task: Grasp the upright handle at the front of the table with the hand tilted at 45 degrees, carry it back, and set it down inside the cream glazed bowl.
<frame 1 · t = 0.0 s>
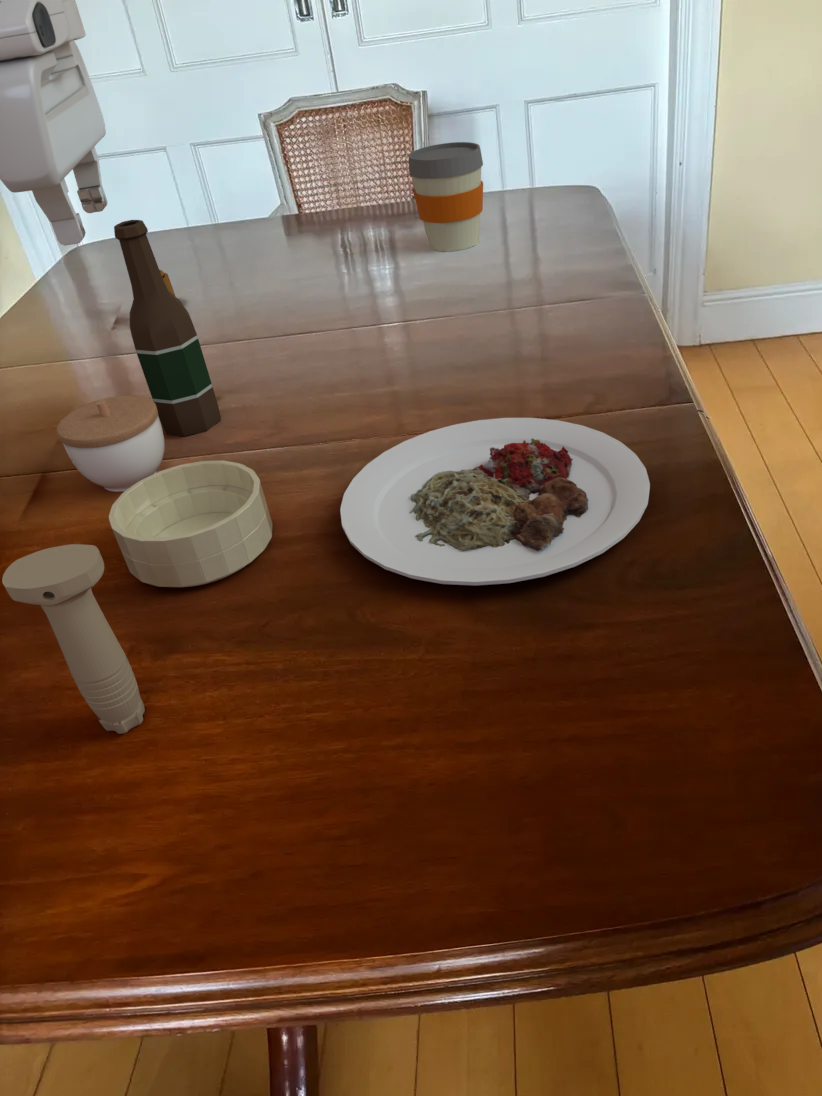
hand: (86, 225, 71), 30 cm above the table, tool pointing down, fingers open, 8 cm apart
ornamental finial: (163, 319, 145), on the table
trinket box: (130, 479, 102), on the table
reusable coffee cup: (454, 244, 158), on the table
plated food: (494, 507, 88), on the table
beer bottle: (193, 424, 112), on the table
handle: (126, 722, 70), on the table
bowl: (203, 549, 88), on the table
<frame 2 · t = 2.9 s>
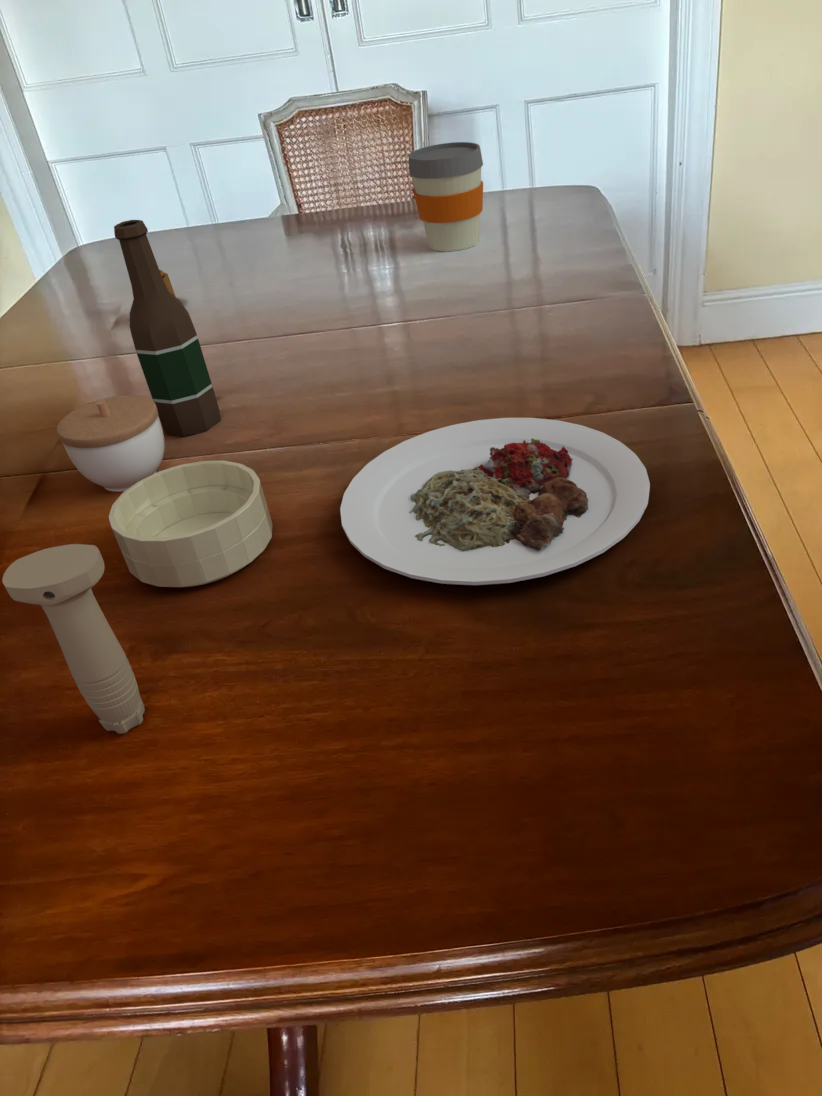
nothing on the table moved.
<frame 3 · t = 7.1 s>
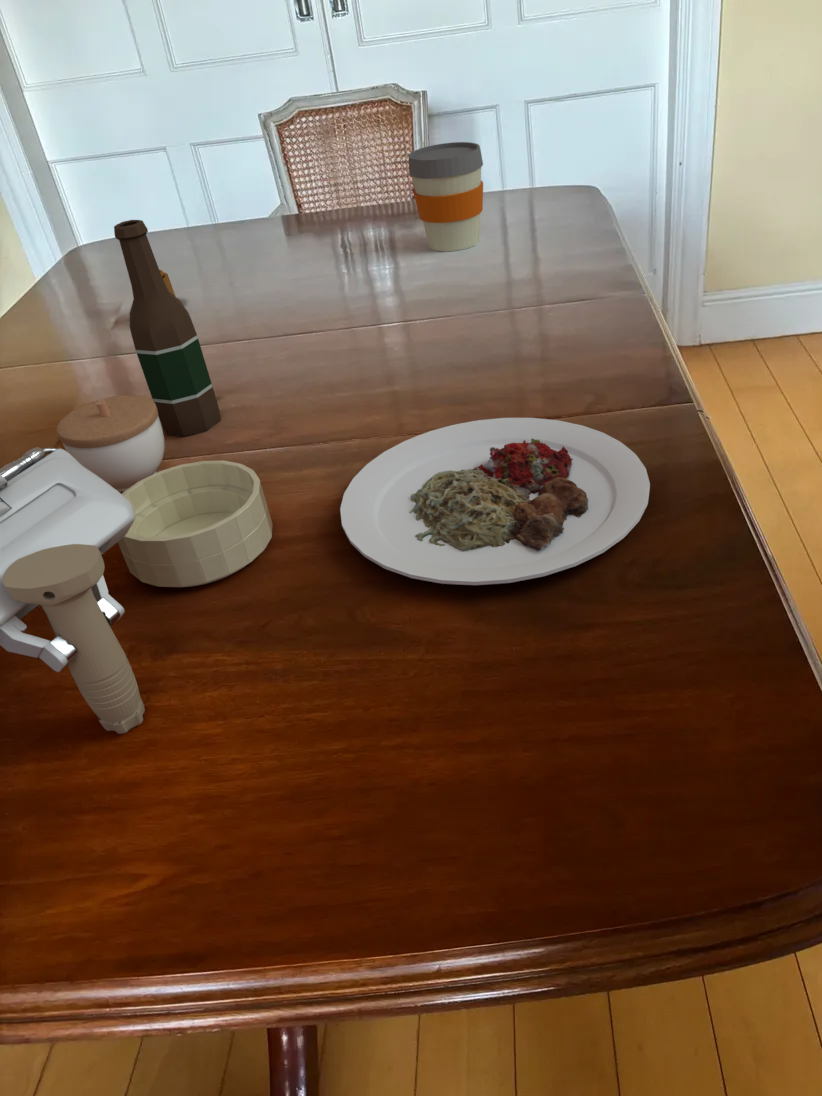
hand: (92, 641, 64), 8 cm above the table, tool tilted 45°, fingers closed on handle, 3 cm apart
handle: (126, 722, 70), on the table, touching gripper
everything else where it was.
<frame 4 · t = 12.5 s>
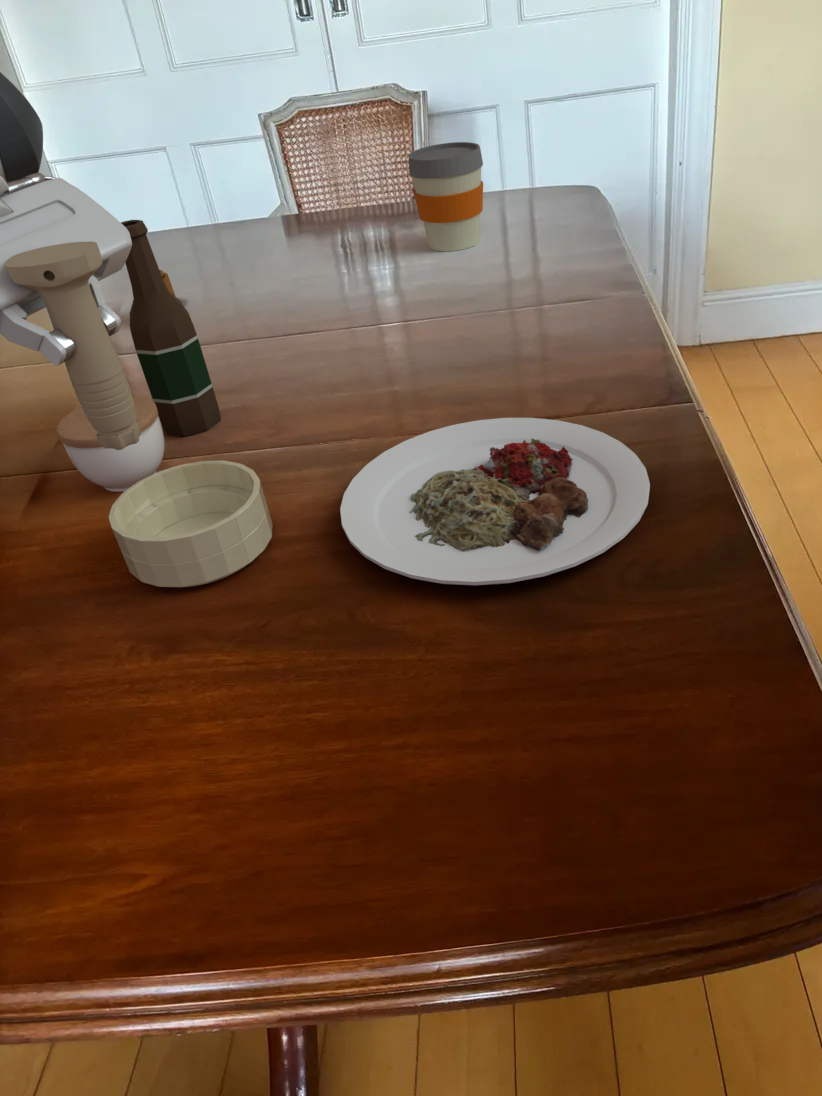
hand: (90, 344, 67), 24 cm above the table, tool tilted 45°, fingers closed on handle, 3 cm apart
handle: (123, 444, 73), point 16 cm above the table, touching gripper
everything else where it was.
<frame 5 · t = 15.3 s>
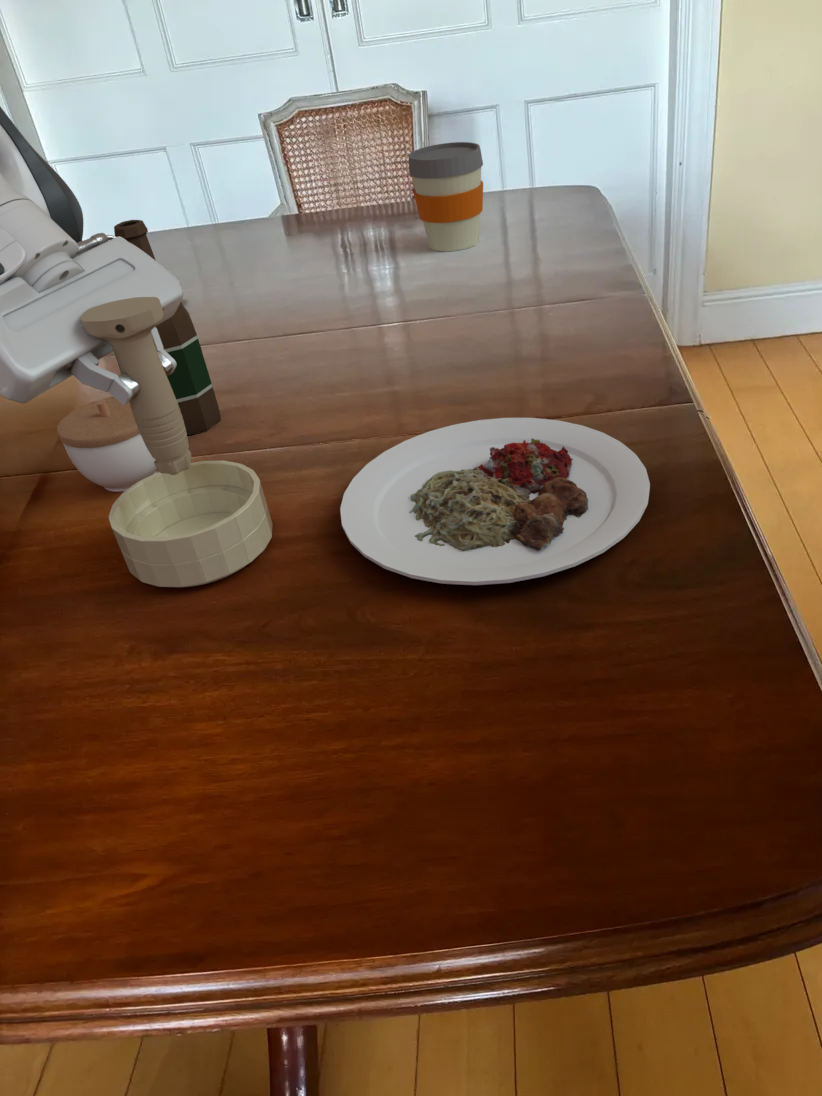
hand: (151, 384, 77), 17 cm above the table, tool tilted 45°, fingers closed on handle, 3 cm apart
handle: (176, 469, 83), point 9 cm above the table, touching gripper
everything else where it was.
when the fingers open (9 cm above the table, at t = 17.9 s): handle stays where it is, resting on bowl.
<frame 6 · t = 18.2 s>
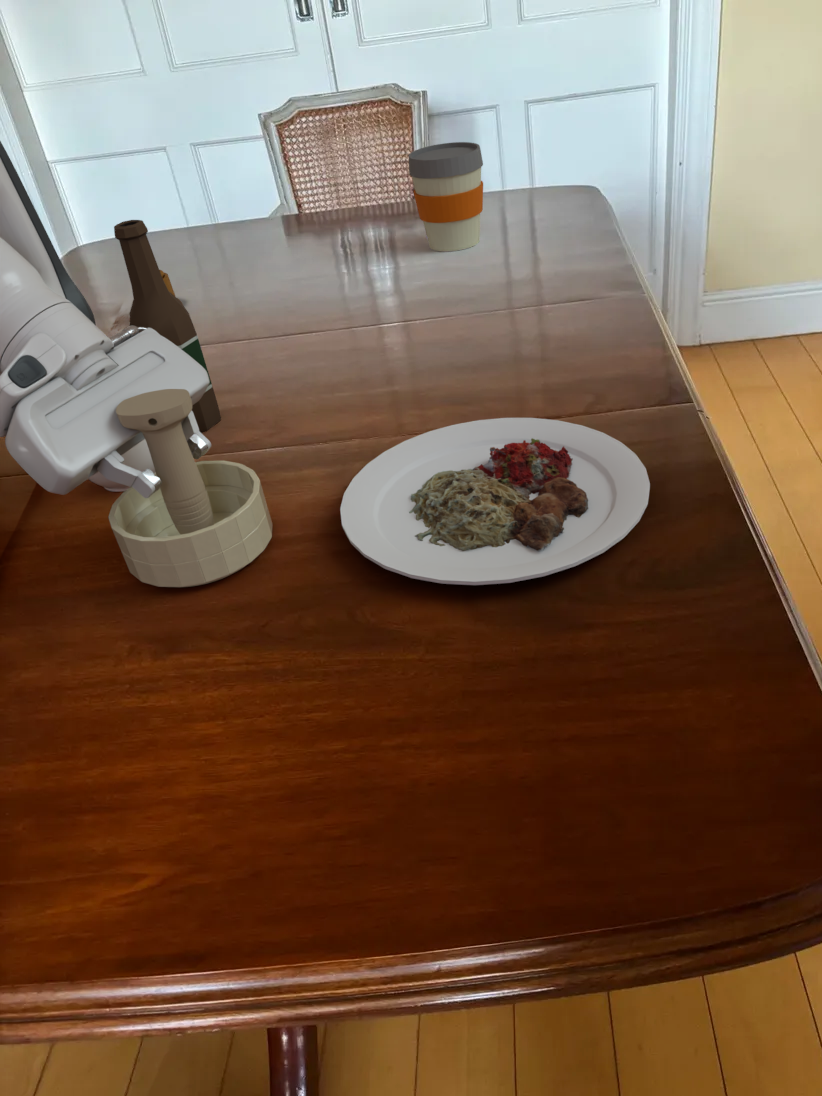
hand: (180, 471, 82), 9 cm above the table, tool tilted 45°, fingers open, 6 cm apart
handle: (202, 544, 88), point 1 cm above the table, touching bowl
everything else where it was.
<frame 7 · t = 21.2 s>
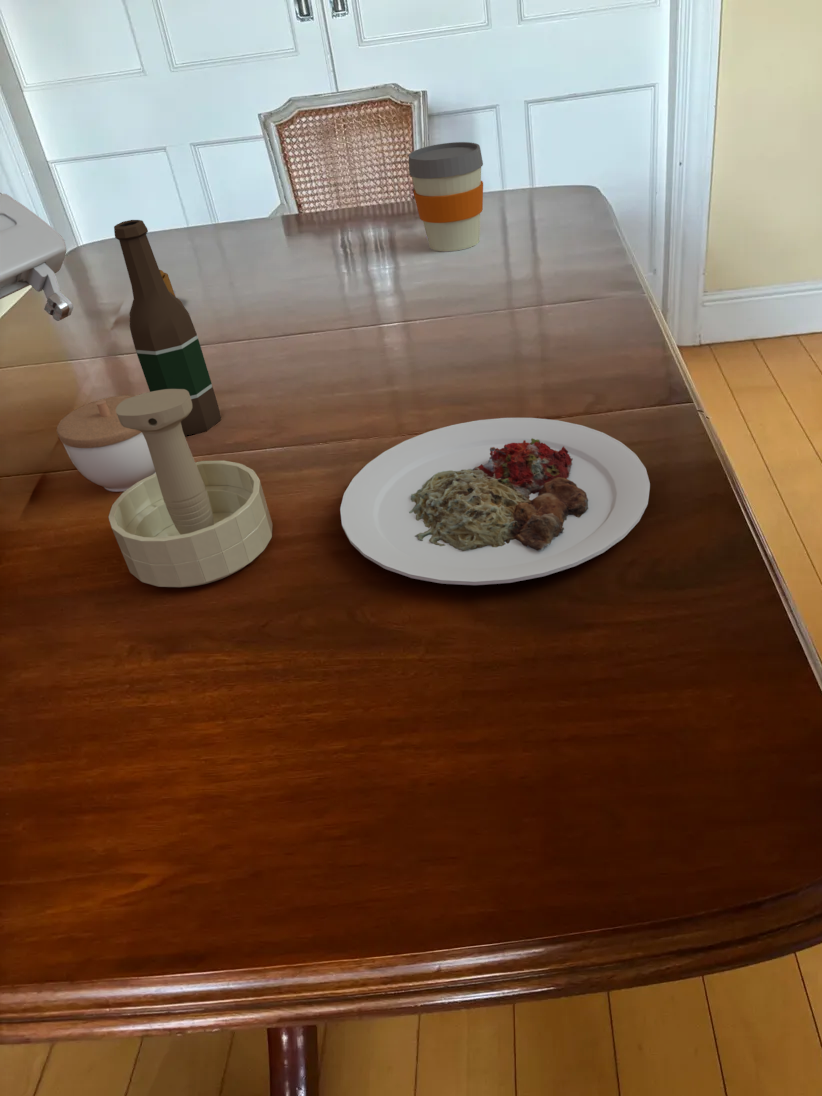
hand: (28, 334, 80), 21 cm above the table, tool tilted 45°, fingers open, 8 cm apart
nothing on the table moved.
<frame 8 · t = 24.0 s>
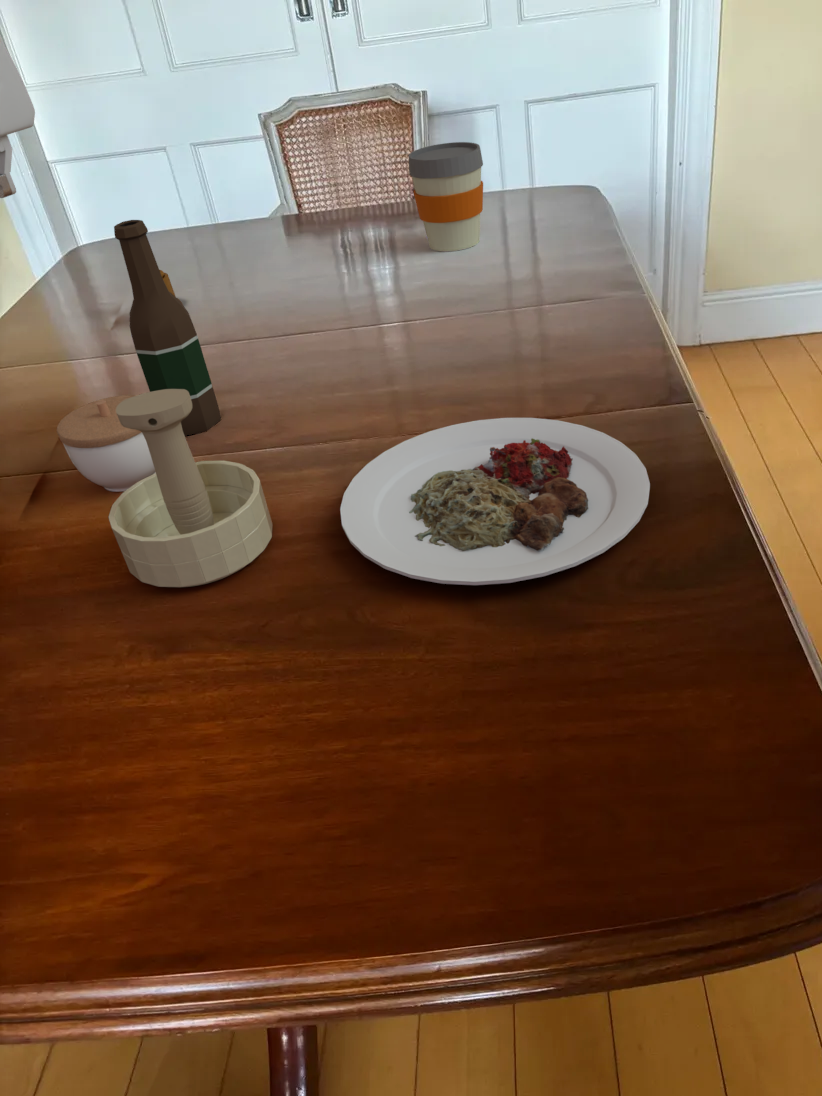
nothing on the table moved.
at the end: handle inside the target area in the bowl (0.1 cm from its centre), point 0.6 cm above the bowl's base; the gripper is holding nothing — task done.
